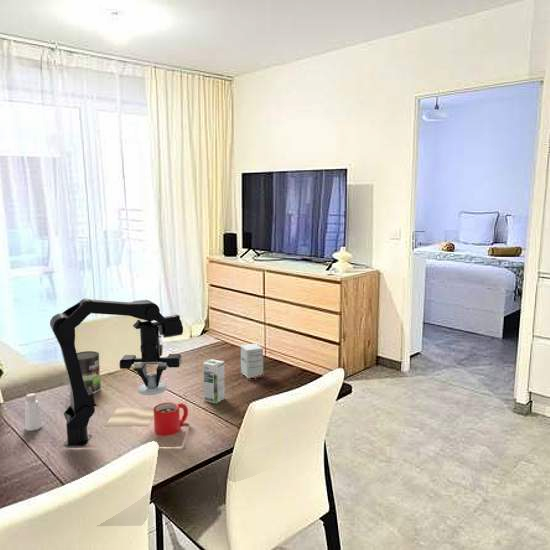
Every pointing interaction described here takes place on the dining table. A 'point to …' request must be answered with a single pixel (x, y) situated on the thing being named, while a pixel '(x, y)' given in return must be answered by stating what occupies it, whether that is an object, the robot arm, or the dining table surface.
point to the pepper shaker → (32, 413)
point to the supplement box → (251, 360)
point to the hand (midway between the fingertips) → (152, 386)
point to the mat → (131, 416)
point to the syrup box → (214, 381)
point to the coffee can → (90, 369)
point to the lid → (152, 386)
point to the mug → (168, 418)
